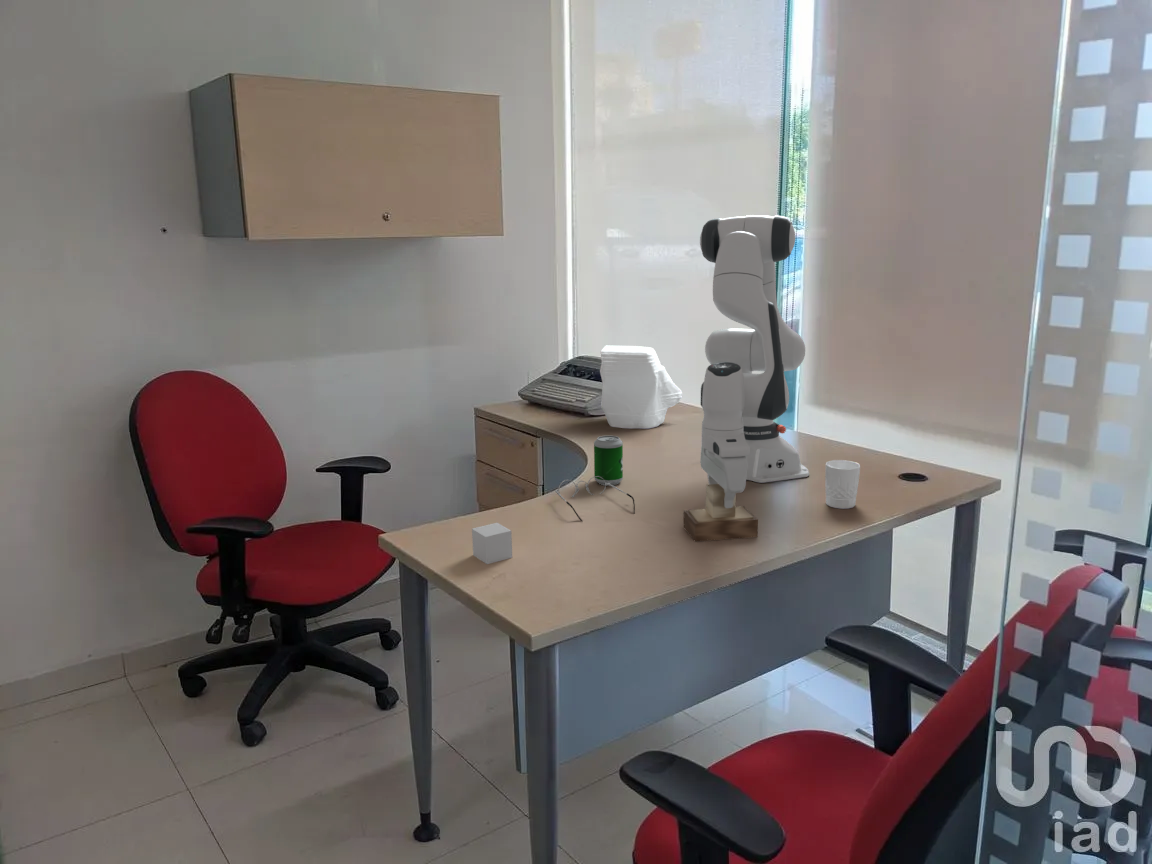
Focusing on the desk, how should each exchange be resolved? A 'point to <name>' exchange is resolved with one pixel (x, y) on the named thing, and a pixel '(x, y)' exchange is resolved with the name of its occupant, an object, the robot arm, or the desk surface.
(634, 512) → the eyeglasses
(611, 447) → the soda can
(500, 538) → the grey cube
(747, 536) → the plinth
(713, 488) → the block
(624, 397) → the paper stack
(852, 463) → the white cup
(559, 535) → the desk surface
